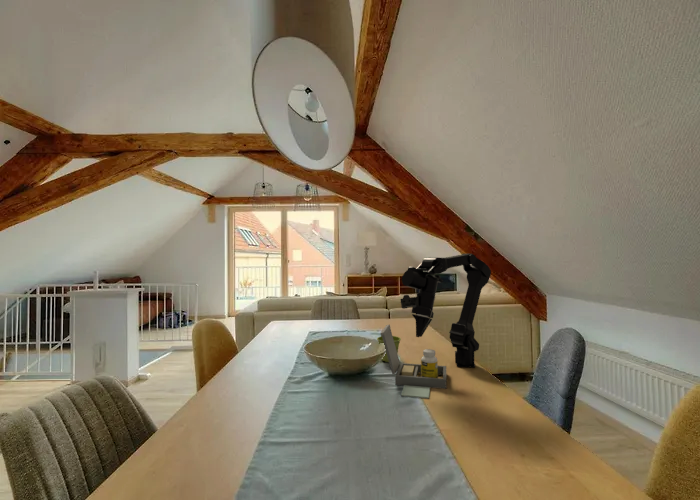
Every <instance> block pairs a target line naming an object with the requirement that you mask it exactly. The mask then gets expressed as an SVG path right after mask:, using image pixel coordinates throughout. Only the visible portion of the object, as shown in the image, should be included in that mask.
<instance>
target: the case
mask: <svg viewBox="0 0 700 500" xmlns="http://www.w3.org/2000/svg"><path fill="white" fill-rule="evenodd" d="M399 365H400V366H399V368H398V371H396V373H395V376H394V377H395V380H394V381H395V382H394V383H395V385H397V386H404V385H408V386H420V387H430V389H431V388H434V389H447V365H438V376H440V375H442V378H440V377H438V378H430V377H421V376H419V374H421V364H420V363H407V362H406V363H405V362H400V363H399Z"/></svg>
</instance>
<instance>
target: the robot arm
mask: <svg viewBox="0 0 700 500" xmlns="http://www.w3.org/2000/svg"><path fill="white" fill-rule="evenodd" d="M460 266H462V268H463V271H465V273H466V281H467V283H468V286H467V290H466V293H465V297H464V300H463V301H464V302H463V305H462V308H461V312H460V315H459V319H458V321H457V322H452V324H451V326H450V330H449V340H450V341H451V342H450V343H451V345H452V348H455V349H456V350H455V351H454V363H455V364H456V367H461V368H472V369H473V368H474V369H475V368H476V365H475V364H476V363H475V352H477V351H479V347H480V343H479V342H478V341H477V340H476V338H475V329H474V319H475V316H476V312H477V308H478V304H479V300H480V297H481V294H482V289H483V288H484V287H485V286H486V285H487V284H488V282H489V280H490V278H491V275H492V270H491V268H490V267H489V266H488V264H486V262H485V261H483V260H481V259H480V258H478V257H477V256H476V255H475V254H474V253H462V254H457V255H452V256H447V257H431V256H430V257H424V258H423V259H422V262H421V263H420V264H419V265H418V266H417V267H414V266H408V267H407V270H406V271H405V272H404V273H403V275H402V277H401V282H402V285H403V286H404V287H408V288H411V289H415V290H418V293H416V296H414V297H412V296H409V294H404V295H403V296H402V298H400V299H399V300H400V305H401V308H402V309H408V308H412V309H411V316H412V317H413V319H414V320H415V337H416V338H420V337H423V335H424V333H425V332H426V330H427V329H428V327H429V325H430V324H431V323H432V321H433V319H434V314H435V313H434V312H433V310H434V305H435V300H436V293H437V288H438V283H443V281H444V280H443V279H442V278H441V276H440V274H443V273H444V272H446V271H447V270H448V269H451V268H452V269H453V268H456V267H460Z"/></svg>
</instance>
